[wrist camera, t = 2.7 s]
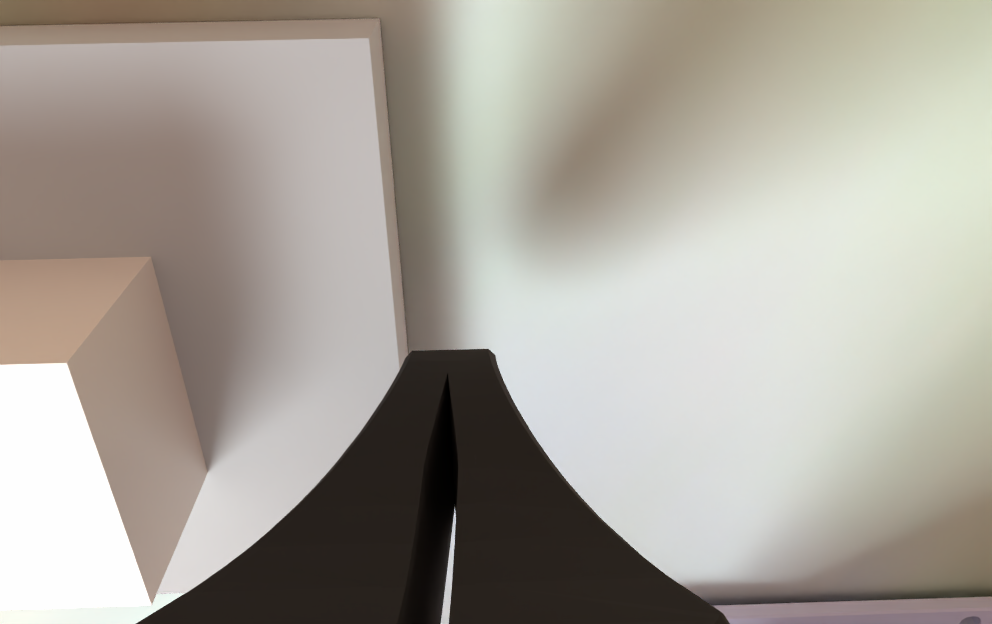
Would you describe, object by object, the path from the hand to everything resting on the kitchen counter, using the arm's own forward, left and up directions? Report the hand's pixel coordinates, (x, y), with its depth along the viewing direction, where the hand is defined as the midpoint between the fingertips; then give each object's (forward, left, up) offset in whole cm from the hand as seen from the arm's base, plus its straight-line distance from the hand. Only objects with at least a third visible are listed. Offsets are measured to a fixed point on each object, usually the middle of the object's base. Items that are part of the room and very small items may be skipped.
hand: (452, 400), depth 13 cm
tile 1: (+7, 0, -1) cm, 7 cm away
